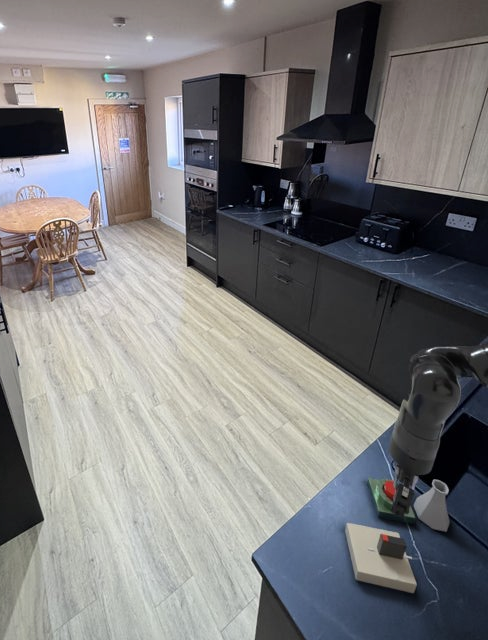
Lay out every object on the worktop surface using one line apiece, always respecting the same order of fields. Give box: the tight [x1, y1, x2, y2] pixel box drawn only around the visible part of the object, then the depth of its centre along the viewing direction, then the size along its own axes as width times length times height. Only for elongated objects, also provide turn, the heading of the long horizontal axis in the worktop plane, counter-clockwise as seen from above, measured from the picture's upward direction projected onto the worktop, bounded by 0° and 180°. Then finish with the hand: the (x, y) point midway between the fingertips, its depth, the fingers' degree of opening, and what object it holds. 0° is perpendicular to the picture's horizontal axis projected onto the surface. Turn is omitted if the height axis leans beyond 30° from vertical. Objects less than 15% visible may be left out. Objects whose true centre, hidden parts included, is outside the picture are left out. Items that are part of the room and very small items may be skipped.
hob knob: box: [377, 534, 407, 559], centre depth 69 cm, size 5×1×5 cm, turn 78°
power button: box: [384, 480, 395, 500], centre depth 80 cm, size 4×4×2 cm
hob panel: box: [344, 522, 418, 594], centre depth 70 cm, size 12×9×3 cm
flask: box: [413, 479, 451, 533], centre depth 77 cm, size 7×7×10 cm
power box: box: [366, 477, 416, 525], centre depth 81 cm, size 8×8×4 cm
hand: (398, 495), depth 71 cm, fingers open, 8 cm apart
